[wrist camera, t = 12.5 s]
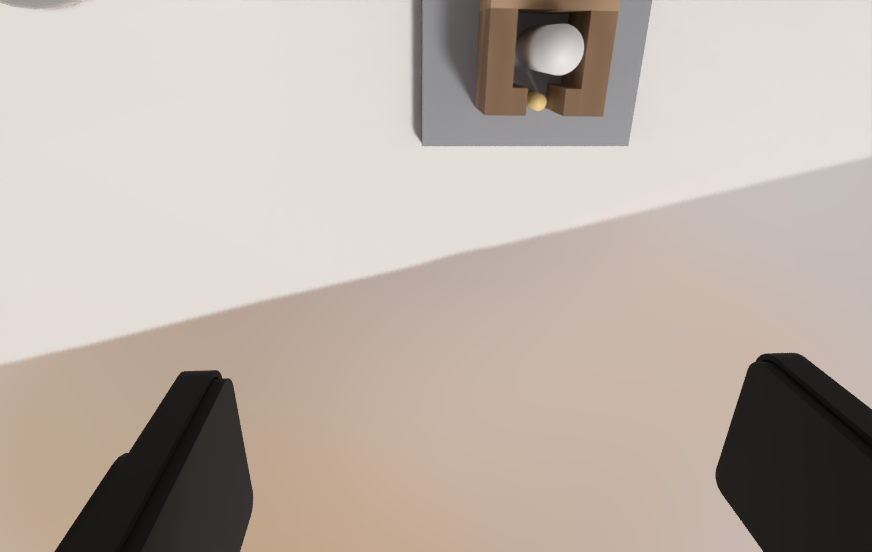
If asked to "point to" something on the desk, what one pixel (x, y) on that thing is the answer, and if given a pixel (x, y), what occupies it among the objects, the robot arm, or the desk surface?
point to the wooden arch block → (579, 90)
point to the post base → (524, 78)
